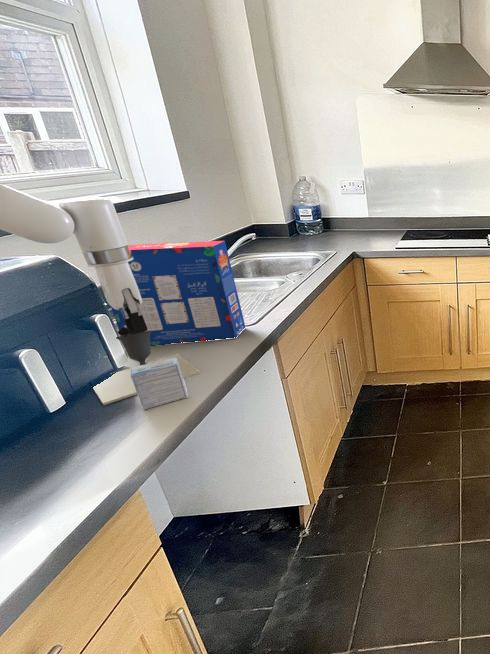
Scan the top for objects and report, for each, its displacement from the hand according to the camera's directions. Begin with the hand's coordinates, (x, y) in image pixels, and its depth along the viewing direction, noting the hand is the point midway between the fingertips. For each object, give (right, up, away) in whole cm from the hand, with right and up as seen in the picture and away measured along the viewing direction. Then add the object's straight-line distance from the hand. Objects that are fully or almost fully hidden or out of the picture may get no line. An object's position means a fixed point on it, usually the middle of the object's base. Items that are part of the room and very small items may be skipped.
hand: (138, 331), depth 97 cm
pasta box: (-9, -4, +27) cm, 28 cm away
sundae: (-1, -11, +3) cm, 11 cm away
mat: (-2, -12, +4) cm, 13 cm away
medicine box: (+10, -15, -5) cm, 19 cm away
